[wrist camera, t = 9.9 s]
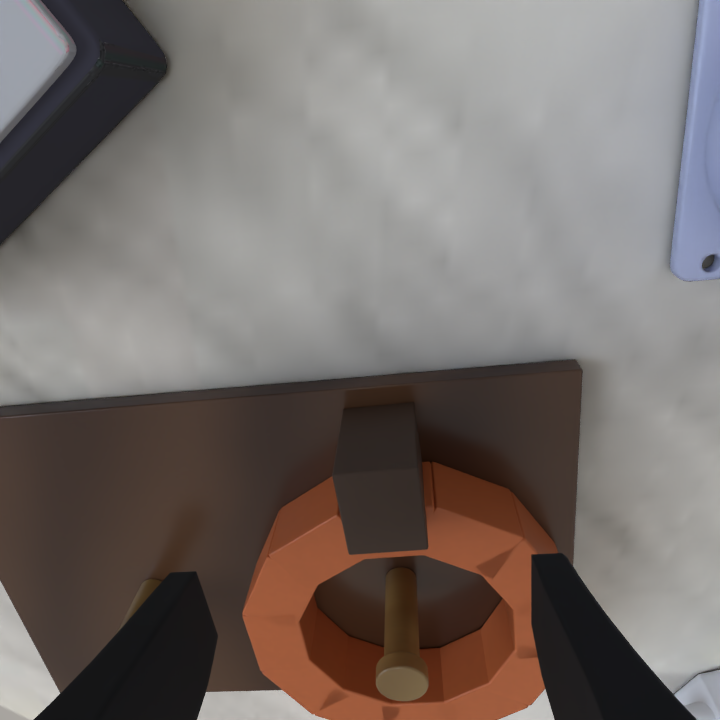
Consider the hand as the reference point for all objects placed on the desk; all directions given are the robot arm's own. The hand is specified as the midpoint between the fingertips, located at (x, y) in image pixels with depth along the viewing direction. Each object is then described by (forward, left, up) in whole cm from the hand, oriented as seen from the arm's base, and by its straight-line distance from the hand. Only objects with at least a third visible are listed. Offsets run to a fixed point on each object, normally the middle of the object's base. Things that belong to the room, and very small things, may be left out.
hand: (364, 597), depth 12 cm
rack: (+5, +7, -8) cm, 12 cm away
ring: (0, +6, -8) cm, 10 cm away
